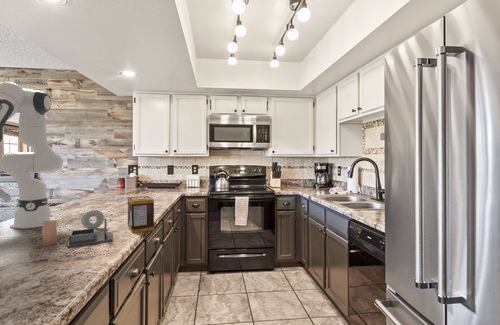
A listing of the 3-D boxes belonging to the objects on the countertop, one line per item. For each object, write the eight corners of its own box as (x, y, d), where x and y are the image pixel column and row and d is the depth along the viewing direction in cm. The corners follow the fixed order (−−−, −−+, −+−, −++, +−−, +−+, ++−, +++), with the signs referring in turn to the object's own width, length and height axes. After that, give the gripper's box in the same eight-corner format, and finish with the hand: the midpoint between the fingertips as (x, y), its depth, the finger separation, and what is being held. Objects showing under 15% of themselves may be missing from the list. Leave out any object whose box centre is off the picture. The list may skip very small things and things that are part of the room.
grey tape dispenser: (70, 238, 116) (70, 220, 116) (111, 233, 124) (111, 217, 124) (67, 247, 105) (67, 227, 105) (112, 241, 113) (112, 223, 113)
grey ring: (81, 231, 128) (81, 211, 128) (80, 230, 131) (80, 210, 130) (104, 228, 134) (104, 208, 134) (103, 226, 137) (103, 207, 137)
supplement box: (148, 223, 144) (147, 195, 144) (154, 230, 131) (154, 199, 131) (127, 226, 139) (127, 196, 138) (131, 233, 126) (131, 200, 125)
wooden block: (43, 243, 110) (43, 220, 110) (57, 241, 113) (57, 219, 113) (41, 246, 106) (41, 223, 106) (55, 244, 109) (55, 221, 108)
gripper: (-21, 168, 88) (18, 194, 94) (-19, 167, 102) (15, 190, 109) (-41, 182, 84) (1, 208, 91) (-36, 179, 99) (0, 202, 106)
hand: (9, 198), depth 100 cm, fingers open, 8 cm apart
